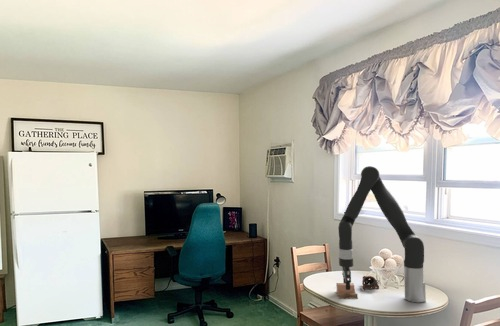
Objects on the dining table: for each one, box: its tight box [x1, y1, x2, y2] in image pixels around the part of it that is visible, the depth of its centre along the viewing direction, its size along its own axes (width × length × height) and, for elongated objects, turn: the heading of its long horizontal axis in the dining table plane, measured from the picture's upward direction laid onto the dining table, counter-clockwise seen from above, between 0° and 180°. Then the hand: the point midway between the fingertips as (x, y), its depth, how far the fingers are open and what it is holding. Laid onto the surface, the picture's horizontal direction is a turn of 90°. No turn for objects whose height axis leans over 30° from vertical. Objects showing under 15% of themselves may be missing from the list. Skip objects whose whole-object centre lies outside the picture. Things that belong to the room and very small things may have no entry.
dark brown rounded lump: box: [361, 275, 380, 291], centre depth 204 cm, size 12×10×8 cm
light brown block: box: [336, 282, 355, 295], centre depth 194 cm, size 9×4×5 cm, turn 84°
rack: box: [337, 288, 359, 300], centre depth 194 cm, size 10×10×2 cm
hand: (346, 286), depth 194 cm, fingers open, 8 cm apart
